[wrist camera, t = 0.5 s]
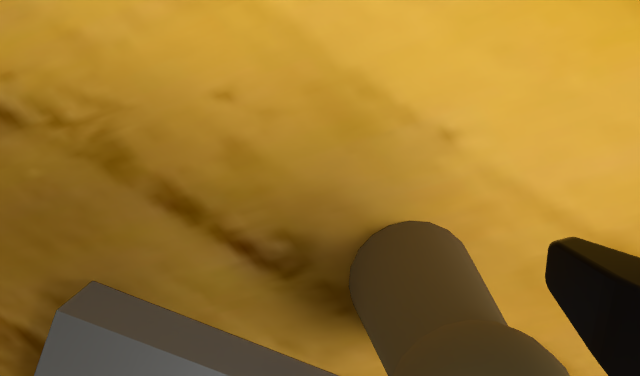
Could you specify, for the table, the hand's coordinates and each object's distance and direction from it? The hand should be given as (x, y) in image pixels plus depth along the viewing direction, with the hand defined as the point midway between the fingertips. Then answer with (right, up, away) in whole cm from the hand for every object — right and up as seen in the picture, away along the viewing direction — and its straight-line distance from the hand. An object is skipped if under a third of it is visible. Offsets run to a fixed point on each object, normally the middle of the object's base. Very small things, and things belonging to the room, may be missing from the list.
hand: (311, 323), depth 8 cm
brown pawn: (+4, -2, +14) cm, 15 cm away
